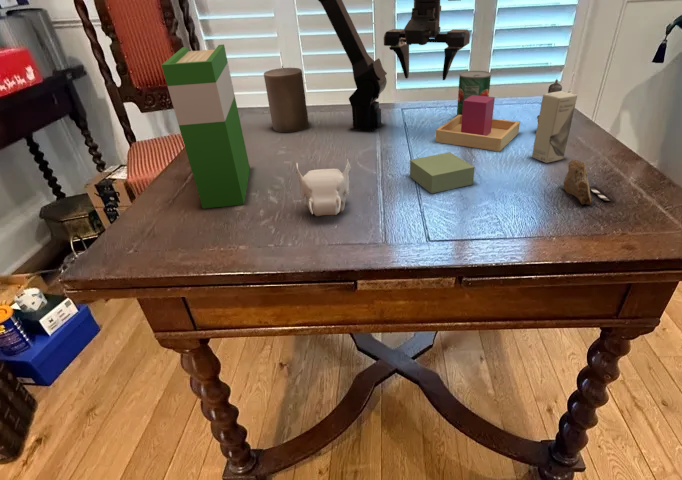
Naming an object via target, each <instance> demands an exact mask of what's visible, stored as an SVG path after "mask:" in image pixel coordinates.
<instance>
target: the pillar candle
mask: <svg viewBox="0 0 682 480" xmlns="http://www.w3.org/2000/svg"><path fill="white" fill-rule="evenodd" d="M303 76H304V75H303V70H302V69H301V68H299V67H284V65H281V67H278V68H274V69H269V70H267V71H264V73H263V79H264V85H265V88H266V95H267V96H266V97H267V101H268V108H269V113H270V119H271V125H272V129H273V130H274V131H276V132H278V133H279V132H280V133H292V132H299V131H303V130H305V129H307V128H308V127H309V126H310V124H309V123H310V122H309V116H308V110H307V109H308V107H307V102H306V101H307V100H306V92H305V83H304V77H303Z"/></svg>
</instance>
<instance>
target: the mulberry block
mask: <svg viewBox="0 0 682 480" xmlns="http://www.w3.org/2000/svg"><path fill="white" fill-rule="evenodd" d="M495 99H496V97H495V96H489V97H488V96H478V95H471V96H470V97H468V98H467V99H465V100H464V101H463V111H462V125H461V132H463V133H470V134H477V135H484V136H487V135H488V134H489V133H490V132H491V127H492V119H494V118H493V117H494V109H495Z"/></svg>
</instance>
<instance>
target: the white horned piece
mask: <svg viewBox="0 0 682 480" xmlns="http://www.w3.org/2000/svg"><path fill="white" fill-rule="evenodd" d="M351 170H352V167H351V164H350V162H349V159H348V158H347V159H346V166H345V168H344V170H343V172H342V171H341V170H340V169H339V168H322V169H311V170H308V171H307V172H306V174H305V175H302V174H301V172H300V171H299V164H298V162H296V174H297V177H298V178H297V179H298V180H299V184H300V197H301V199H305V202H306V205H307V208H308V210H309V212H310V213H311V215H313V214H314V215H315V216H316V217H320V216H338V214H339V213H340V212H344V210H345V206H346V199H347V198H346V196H349V195H350V176H349V174H350V172H351ZM305 197H306V198H305Z"/></svg>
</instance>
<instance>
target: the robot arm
mask: <svg viewBox="0 0 682 480" xmlns="http://www.w3.org/2000/svg"><path fill="white" fill-rule="evenodd" d="M317 1H318V2H319V3H320V5H321V6H322V8H323V10H324V12H325V14H326V16H327V18H328V20H329V22H330V25H331V26H332V28H333V30H334V32H335V34H336V36H337V38H338V40H339V42H340V44H341V46H342V48H343V51H344V52H345V54H346V57H347V58H348V60H349V62H350V64H351V69H352V76H353V81H354V83H355V84H354V85H355V87H356V89H355V91H354V92H352V94H351V95H350V96H349V97H348V102H349V103H350V106H351V114H352V115H351V116H352V125H351V126H350V127H349V129H350V130H351V131H363V132H370V133H371V132H375V131H376V130H377V129H378V128H380V127H381V126H383V122H382V108H380V101H377V100H378V99H379V98H380V94H381V93H382V92H383V91H385V89H386V86H387V84H388V83H387V82H388V81H387V80H388V79H387V74H388V72H387V71H385V69H384V68H383V65H382V62H381V59H380V58H378V57H377V59H375V60H374V59H373V58H372V57H371V56H370V55H369V53H368V52H367V49H366V47H365V45H364V43H363V41H362V39H361V37H360V35H359V32H358V31H357V29H356V27H355V25H354V23H353V20H352V18H351V16H350V14H349V12H348V10H347V8H346V6H345V4H344V1H343V0H317ZM447 1H449V2H453V1H454V2H455V1H458V2H459V1H460V0H447ZM441 11H442V5H441V0H413V7H412V8H411V17H410V19H409V20H408V22H407V23H406V25H405V26H404V28H392V29H389V30H387V31H385V33H384V36H383V46H384V47H388V48H389V50H390V51H393V53H395V54H396V56H397V58H398V60H399V63H400V65H401V69H402V73H403V76H404V78H405V79H408V78H409V75H410V46H411V45H419V46H425V45H427V44H428V43H435V44H437V43H442V44H443V43H444V44H446V45H447V47H445V48H444V49H443V51H444V60H443V67H442V81H445V80H447V77H448V74H449V71H450V69H451V67H452V64H453V61H454V59H455V57H456V55H457V53H458V52H459V51H460V50H462V49H463V48H464V47H466V46H467V45H469V44H470V40H471V39H470V38H471V34H470V31H469V29H464V28H463V29H457V28H456V29H451V30H449V31H447V33H445V32H443V33H441V26H440V20H441V19H440V18H441Z"/></svg>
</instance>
